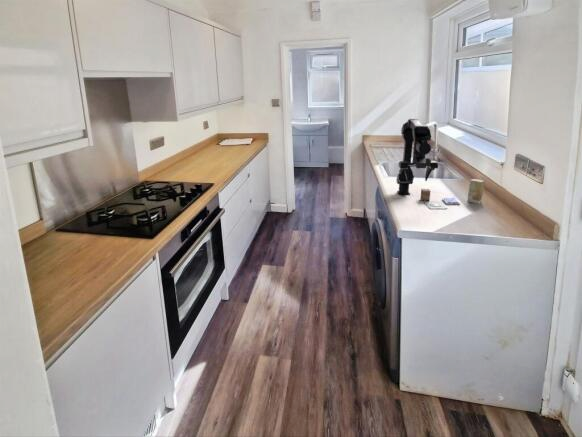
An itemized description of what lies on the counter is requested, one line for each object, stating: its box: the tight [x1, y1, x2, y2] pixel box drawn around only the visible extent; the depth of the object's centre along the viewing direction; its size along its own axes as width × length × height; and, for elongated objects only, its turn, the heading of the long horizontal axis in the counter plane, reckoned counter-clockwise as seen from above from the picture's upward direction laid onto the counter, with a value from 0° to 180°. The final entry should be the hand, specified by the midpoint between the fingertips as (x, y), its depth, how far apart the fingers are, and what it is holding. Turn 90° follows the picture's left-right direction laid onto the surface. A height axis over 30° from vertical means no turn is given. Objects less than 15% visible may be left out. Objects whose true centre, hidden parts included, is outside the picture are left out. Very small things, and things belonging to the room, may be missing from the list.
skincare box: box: [467, 178, 485, 204], centre depth 226 cm, size 6×4×12 cm
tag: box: [423, 201, 448, 210], centre depth 223 cm, size 12×9×1 cm
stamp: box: [419, 188, 431, 202], centre depth 232 cm, size 4×4×6 cm
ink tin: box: [441, 197, 461, 206], centre depth 228 cm, size 9×7×1 cm
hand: (416, 181), depth 215 cm, fingers open, 9 cm apart
